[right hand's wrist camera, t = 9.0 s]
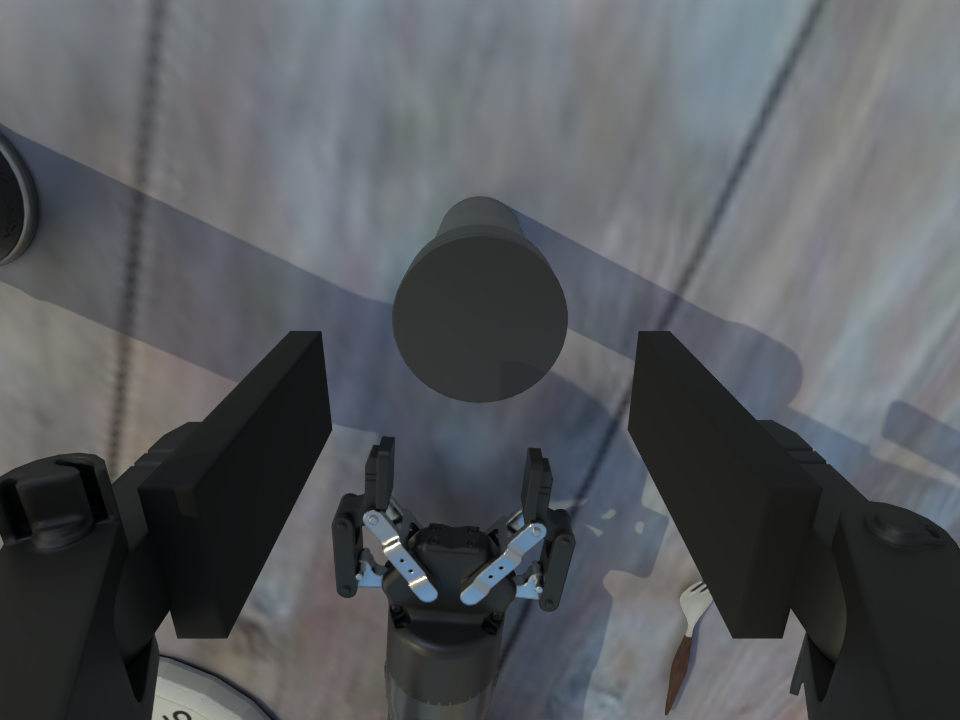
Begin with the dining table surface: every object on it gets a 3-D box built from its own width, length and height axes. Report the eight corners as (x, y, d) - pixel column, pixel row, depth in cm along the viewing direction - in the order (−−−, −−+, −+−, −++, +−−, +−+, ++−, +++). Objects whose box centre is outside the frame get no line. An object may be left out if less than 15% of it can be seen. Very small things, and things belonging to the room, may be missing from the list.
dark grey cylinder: (437, 196, 33) (402, 246, 18) (522, 196, 33) (557, 246, 18) (440, 279, 34) (409, 386, 20) (520, 279, 34) (550, 386, 20)
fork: (648, 708, 48) (655, 731, 46) (688, 562, 42) (698, 581, 40) (678, 709, 48) (686, 732, 46) (722, 564, 42) (733, 583, 40)
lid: (397, 224, 20) (386, 235, 17) (562, 223, 20) (573, 235, 17) (405, 375, 22) (397, 403, 19) (554, 375, 22) (563, 403, 19)
